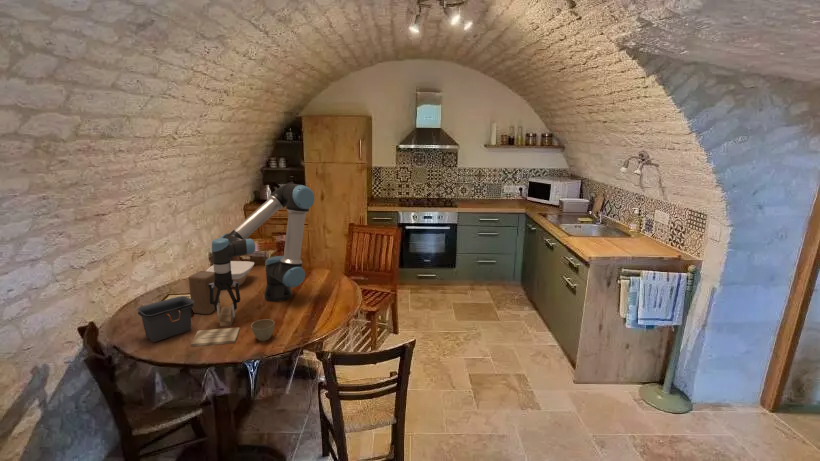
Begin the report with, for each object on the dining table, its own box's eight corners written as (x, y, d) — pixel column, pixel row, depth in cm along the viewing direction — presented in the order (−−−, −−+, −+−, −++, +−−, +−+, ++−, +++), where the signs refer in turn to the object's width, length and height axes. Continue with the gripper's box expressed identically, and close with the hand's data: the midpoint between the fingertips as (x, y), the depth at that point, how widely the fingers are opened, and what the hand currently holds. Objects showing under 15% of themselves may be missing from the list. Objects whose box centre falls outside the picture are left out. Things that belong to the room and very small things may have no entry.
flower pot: (255, 333, 200) (254, 319, 198) (277, 333, 201) (276, 318, 199) (249, 344, 190) (248, 329, 189) (272, 343, 191) (271, 328, 190)
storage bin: (186, 321, 211) (183, 294, 207) (201, 331, 202) (199, 302, 198) (138, 337, 194) (134, 308, 191) (153, 348, 185) (148, 317, 182)
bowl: (244, 291, 250) (243, 274, 248) (202, 290, 251) (200, 273, 248) (258, 277, 274) (257, 261, 271) (220, 276, 274) (218, 260, 271)
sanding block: (234, 318, 215) (233, 306, 214) (231, 326, 207) (230, 313, 205) (223, 319, 214) (222, 307, 213) (219, 327, 206) (218, 314, 204)
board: (239, 329, 204) (239, 327, 203) (235, 342, 191) (234, 340, 191) (198, 332, 200) (198, 330, 199) (191, 346, 187) (190, 344, 187)
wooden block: (208, 315, 218) (205, 278, 213) (191, 313, 220) (187, 276, 215) (221, 307, 228) (217, 271, 223) (204, 305, 230) (200, 270, 225)
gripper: (245, 267, 210) (248, 311, 215) (202, 269, 206) (207, 314, 211) (242, 272, 203) (246, 318, 208) (199, 274, 199) (203, 321, 204)
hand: (226, 316), depth 210 cm, fingers open, 6 cm apart
